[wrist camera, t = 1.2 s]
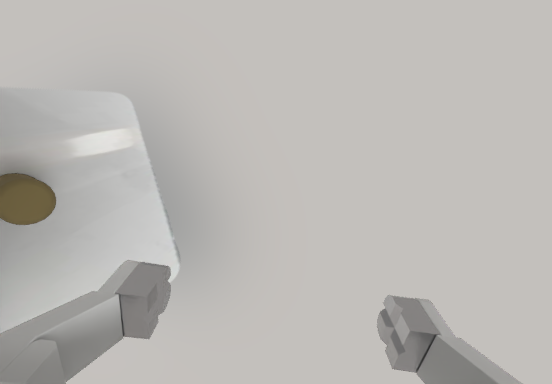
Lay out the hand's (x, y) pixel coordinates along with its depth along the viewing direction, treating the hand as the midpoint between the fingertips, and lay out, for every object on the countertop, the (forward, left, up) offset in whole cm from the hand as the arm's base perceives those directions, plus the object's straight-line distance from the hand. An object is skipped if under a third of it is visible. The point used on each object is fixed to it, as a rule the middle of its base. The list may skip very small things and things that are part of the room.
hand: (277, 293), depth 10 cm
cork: (-3, +1, -43) cm, 43 cm away
